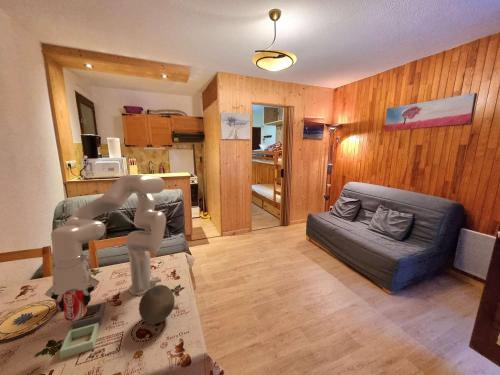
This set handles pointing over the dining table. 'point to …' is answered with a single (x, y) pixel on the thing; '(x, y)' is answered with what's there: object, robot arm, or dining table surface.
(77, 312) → the soda can
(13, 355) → the dining table surface
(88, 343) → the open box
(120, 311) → the dining table surface
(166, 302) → the cantaloupe
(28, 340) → the dining table surface
